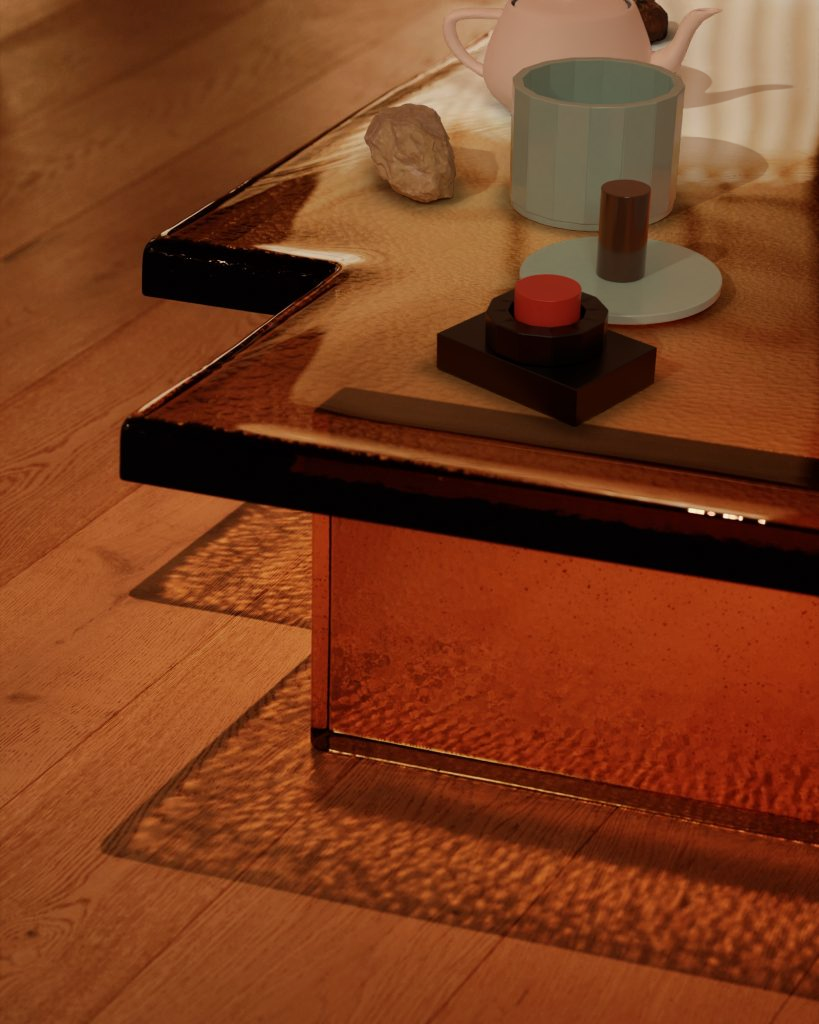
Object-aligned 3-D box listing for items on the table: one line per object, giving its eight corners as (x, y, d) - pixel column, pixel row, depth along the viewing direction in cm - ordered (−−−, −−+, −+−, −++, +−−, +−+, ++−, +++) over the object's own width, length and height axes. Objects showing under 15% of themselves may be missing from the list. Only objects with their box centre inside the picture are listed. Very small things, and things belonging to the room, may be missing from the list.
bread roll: (687, 42, 145) (683, -14, 143) (569, 67, 144) (564, 11, 142) (647, 16, 155) (643, -37, 152) (537, 39, 154) (531, -14, 151)
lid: (760, 289, 99) (772, 186, 96) (638, 354, 92) (647, 243, 88) (602, 237, 107) (608, 139, 103) (477, 293, 99) (479, 189, 96)
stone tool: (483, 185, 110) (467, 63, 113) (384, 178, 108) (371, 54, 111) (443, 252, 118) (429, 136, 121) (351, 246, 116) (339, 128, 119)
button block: (654, 383, 89) (660, 316, 87) (574, 427, 84) (578, 358, 82) (517, 329, 95) (519, 266, 92) (436, 368, 90) (436, 303, 88)
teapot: (425, 127, 126) (425, -13, 121) (457, 77, 138) (459, -53, 132) (707, 145, 122) (721, 1, 117) (717, 92, 134) (730, -42, 128)
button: (593, 316, 88) (595, 286, 87) (551, 336, 85) (552, 306, 84) (542, 297, 90) (543, 268, 89) (500, 317, 88) (501, 287, 87)
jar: (706, 199, 112) (717, 79, 108) (605, 245, 106) (613, 118, 101) (579, 162, 119) (585, 47, 115) (476, 202, 112) (478, 82, 108)
